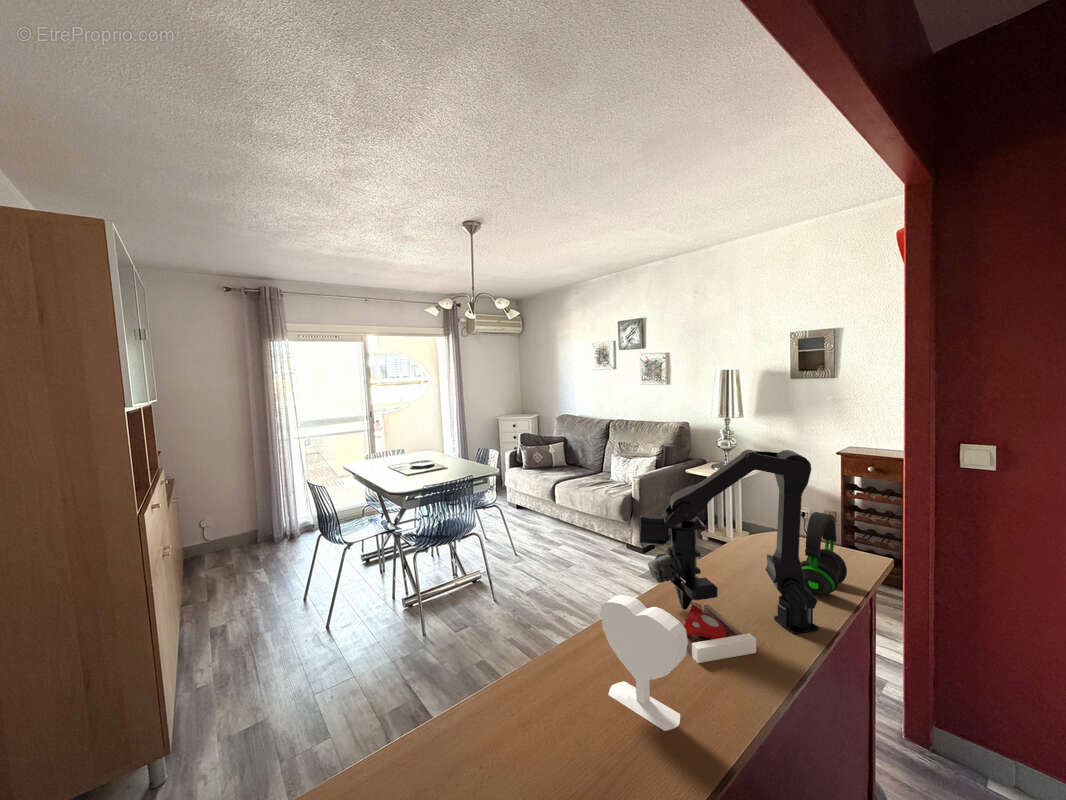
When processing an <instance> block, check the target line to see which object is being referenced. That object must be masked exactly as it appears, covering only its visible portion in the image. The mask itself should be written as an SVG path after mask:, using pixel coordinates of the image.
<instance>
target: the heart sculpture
mask: <svg viewBox="0 0 1066 800" xmlns="http://www.w3.org/2000/svg"><path fill="white" fill-rule="evenodd" d="M600 619H601V626H602V630H603V633H604V635H605V638H606V639H607V642H608V645H609V646H610V648H611V649H612V650H613V652H614V655H616V657H617V659H618V660H619V661H620V662H621V663H622V665H623V666H624V667H625V668H626V669H627V671H628V673H630V675H632V678H633V679H635V686H634V685H631V684H630V683H628V682H626V681H625V680H623V681H621V682H620V681H619V682H616V683H614V684H611V686H610V688H609V691H608V696H609V697H610V698H613V699H614V700H615V701H617V702H619V703H620V704H622V705H624V706H625V707H627V708H628V709H629V710H631V711H633V712H634V713H636V714H638V716H641V717H642V718H644V719H645V720H646V721H649V722H650V723H652V724H653V725H655V726H656V727H658V728H660V729H661V730H662V731H664V732H666V731H671V730H673V729H676V728H677V727H679V725H680V722H681V713H679V712H677V711H675V710H674V709H673V708H671V707H669V706H668V705H666V704H664V703H662V702H660V701H659V700H657V699H655V698H653V697H652V696H651V693H650V692H651V691H650V690H651V689H650V681H651V680H658V679H660V678H663V677H666V676H668V675H669V673H671V672H672V671H673V670H674V669H675V668H676V667H677V666H678V665H680V663H681V662H682V661H683V659H684V658H685V657H686V655H687V651H686V650H687V643H688V640H689V639H688V640H687V638H688V636H687V634H686V629H685V628H684V625H683V623H682V622H681V621H680V620H679V619H677V618H676V617H674V616H673V615H672V614H671V613H670V612H667V611H666V610H664V609H662V608H659V607H658V606H651V607H648V608H647V607H646V606H645V605H644V604H643V602H641V601H640V599H638V598H636V597H633V596H631V595H625V594H623V595H622V594H619V595H618V594H617V595H616V596H614V597H612V598H611V599H609V600H607V601H605V602H604V603H603V604H601V607H600Z"/></svg>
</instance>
